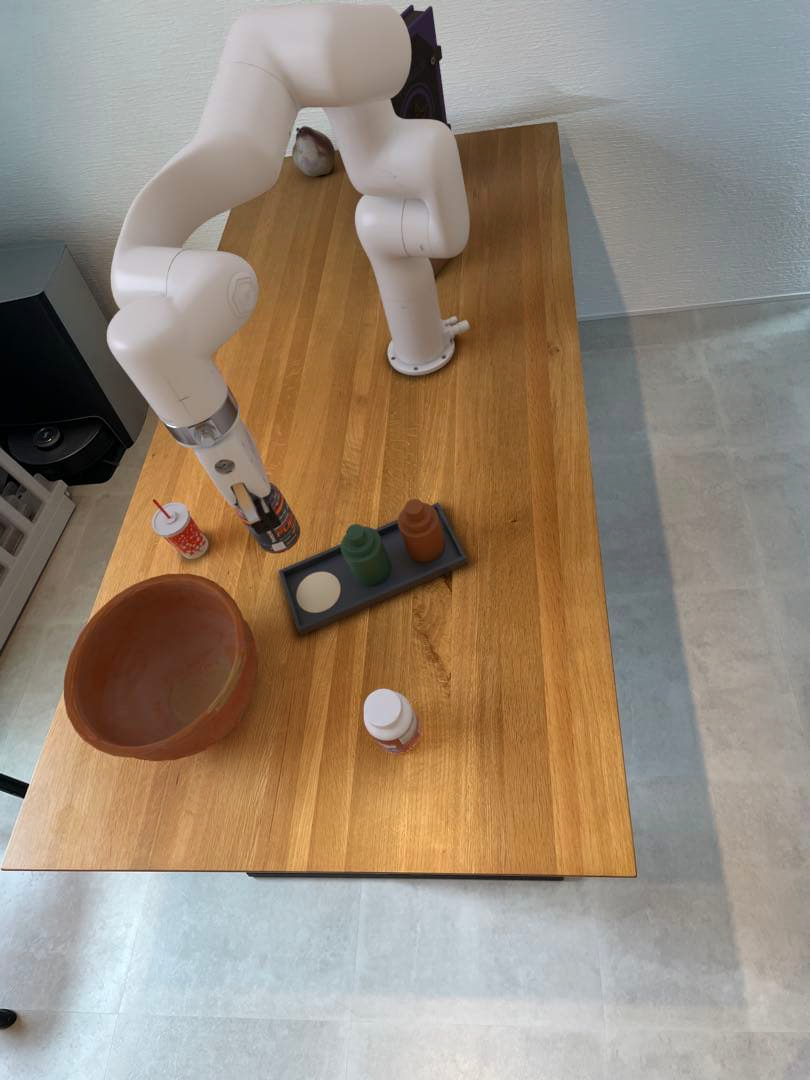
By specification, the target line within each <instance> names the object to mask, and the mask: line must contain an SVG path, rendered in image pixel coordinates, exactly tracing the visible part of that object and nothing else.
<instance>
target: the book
mask: <svg viewBox="0 0 810 1080" xmlns="http://www.w3.org/2000/svg"><path fill="white" fill-rule="evenodd" d="M399 14H400V16H401V17H402V19H403V20H404V23H405V25H406V27H407V30H408V33H409V37H410V42H411V65H410V70H409V74H408V77H407V80H406V82H405V84H404V86H403V88H402V89H401V90H400V91H399V93H398V94H396V95H395V96H394V97H392V98H390V100H391V103H392V106H393V110H394V112H395V114H396V115H397V116H398V117H400V118H402V119H431V120H437V121H440V122H442V123H444V124H445V125H447V126H448V127H449V129H450V130H451V132H452V133H453V131H452V124H451V123H448V120H447V119H448V118H447V110H446V103H445V95H444V87H443V79H442V72H441V63H440V61H441V60H442V59H443V50H442V45H441V44H438V41H437V31H436V24H435V17H434V10H433V6H431V5H429V6H427V8H426V9H424V10H416V9H415V6H414V4H410V5H409V6H408V7H406V9H404V11H402V12H401V13H399Z"/></svg>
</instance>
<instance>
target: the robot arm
mask: <svg viewBox="0 0 810 1080" xmlns="http://www.w3.org/2000/svg"><path fill="white" fill-rule="evenodd" d="M400 14H401V13H399V12H398V11H397V10H396V9H395V8H394V7H392V6H390V5H389V4H356V3H355V4H353V3H340V2H316V3H315V2H314V3H303V4H286V5H271V6H262V7H257V8H253V9H250V10H248V11H245V12H244V13H242V14H240V15H239V16H238V17H237V18H236V19H235V21H234V22H233V24H232V26H231V28H230V29H229V32H228V34H227V37H226V41H225V44H224V46H223V50H222V53H221V55H220V59H219V62H218V65H217V68H216V72H215V75H214V77H213V80H212V84H211V88H210V91H209V93H208V96H207V100H206V102H205V105H204V109H203V112H202V115H201V118H200V122H199V125H198V128H197V131H196V133H195V135H194V137H193V138H192V139H191V140H190V141H189V142H188V143H187V144H186V145H185V146H184V147H183V148H181V149H180V150H179V151H178V152H176V153H175V154H174V155H173V156H172V157H171V158H170V159H169V160H168V161H167V162H166V163H165V164H163V166H162V167H161V168H160V169H159V170H158V171H157V172H156V173H155V174H154V175H153V176H152V177H151V178H150V180H148V181H147V183H145V185H144V186H143V187H142V188H141V190H140V191H138V193H137V195H136V196H135V197H134V199H133V201H132V203H131V204H130V207H129V208H128V211H127V213H126V215H125V218H124V221H123V224H122V226H121V230H120V233H119V235H118V238H117V242H116V245H115V249H114V251H113V257H112V262H111V268H110V287H111V288H110V289H111V293H112V297H113V300H114V302H115V304H116V306H117V307H118V309H119V310H117V312H116V313H115V315H114V316H113V317H112V318H111V320H110V321H109V324H108V326H107V330H106V342H107V346H108V348H109V350H110V352H111V353H112V355H113V357H114V358H115V360H116V361H117V362H118V364H119V365H120V366H121V368H122V369H123V370H124V372H125V373H126V375H127V376H128V378H129V379H130V380H131V381H132V383H133V384H134V385H135V387H136V388H137V390H138V391H139V392H140V394H141V395H142V396H143V398H144V399H145V401H146V402H147V403H148V405H149V406H150V408H151V409H152V410H153V411H154V412H155V414H156V416H157V417H158V418H159V420H160V422H162V424H163V425H164V426H165V428H166V429H167V431H169V434H170V435H171V436H172V438H173V439H174V440H175V441H176V443H178V445H180V446H182V447H184V448H186V449H192V451H193V452H194V454H195V456H196V457H197V459H198V461H199V463H200V465H201V466H202V467H203V469H204V471H205V472H206V473H207V475H208V477H209V478H210V480H211V482H213V484H214V486H215V487H216V489H217V490H218V492H219V493H220V494H221V496H222V497H223V499H224V500H225V501H226V502H227V504H228V505H229V506H231V507H232V508H235V509H236V508H238V505H239V506H240V508H241V510H242V512H243V513H244V515H245V517H246V519H247V520H248V522H249V523H250V525H251V526H252V527H253V529H254V530H255V532H256V533H257V534H262V533H264V532H268V531H270V530H272V529H274V528H276V527H279V526H280V525H281V521H280V519H279V518H278V516H277V514H276V513H275V511H274V510H273V508H272V506H271V505H270V504H267V503H266V501H265V499H264V498H263V497H265V496H267V495H269V493H270V490H271V488H270V484H269V482H270V481H269V478H268V474H267V471H266V468H265V465H264V462H263V459H262V456H261V452H260V450H259V448H258V445H257V443H256V440H255V438H254V436H253V434H252V433H251V432H250V429H248V427H247V425H246V424H245V422H244V421H243V419H242V418H241V407H240V405H239V403H238V400H237V399H236V397H235V396H234V393H233V392H232V390H231V389H230V387H229V385H228V383H227V382H226V380H225V379H224V376H223V374H222V373H221V371H220V369H219V368H218V366H217V365H216V362H215V360H214V359H213V357H214V355H215V353H216V352H218V350H220V349H221V348H222V347H223V346H224V345H225V344H226V343H228V341H230V340H231V339H232V338H233V337H234V336H235V335H236V334H237V333H238V332H239V331H240V330H241V329H243V327H244V326H245V325H246V324H247V322H248V321H249V320H250V318H251V317H252V315H253V313H254V312H255V309H256V307H257V303H258V299H259V291H260V290H259V282H258V281H259V280H258V278H257V274H256V272H255V270H254V269H253V267H252V266H251V265H250V263H249V262H248V261H247V260H246V259H244V258H243V257H241V256H240V255H236V254H235V253H231V252H229V251H221V250H210V249H208V250H207V249H193V248H190V247H189V248H188V247H187V248H186V247H183V246H184V245H185V243H186V242H187V240H188V239H189V238H190V237H191V236H192V234H194V232H196V230H198V229H199V228H200V227H201V226H202V225H204V224H205V223H206V222H208V221H210V220H211V219H213V218H215V217H217V216H219V215H221V214H223V213H226V212H228V211H230V210H232V209H234V208H237V207H239V206H241V205H244V204H246V203H248V202H250V201H252V200H254V199H255V198H258V197H259V196H261V195H263V194H264V193H267V192H268V191H269V190H271V188H273V187H274V186H275V185H276V183H277V181H278V180H279V177H280V174H281V171H282V167H283V164H284V160H285V157H286V154H287V149H288V146H289V143H290V140H291V136H292V132H293V129H294V126H295V123H296V120H297V117H298V115H299V112H300V111H301V110H303V109H307V108H308V109H309V108H322V110H323V112H324V113H325V115H326V117H327V120H328V123H329V125H330V128H331V131H332V134H333V137H334V140H335V143H336V145H337V149H338V151H339V154H340V157H341V160H342V163H343V166H344V169H345V171H346V174H347V176H348V179H349V181H350V183H351V185H352V187H353V188H354V189H355V190H356V191H357V192H358V193H359V194H362V196H361V197H360V199H359V200H358V202H357V205H356V208H355V213H354V225H355V231H356V234H357V237H358V240H359V242H360V244H361V246H362V248H363V250H364V252H365V254H366V256H367V258H368V260H369V262H370V265H371V267H372V270H373V273H374V276H375V281H376V283H377V287H378V292H379V294H380V300H381V302H382V306H383V311H384V315H385V318H386V321H387V325H388V329H389V333H390V336H391V337H390V338H391V340H390V342H389V345H388V347H387V358H388V361H389V363H390V365H391V366H392V368H393V369H394V370H396V371H397V372H399V373H400V374H404V375H407V376H424V375H428V374H431V373H434V372H436V371H439V370H440V369H442V368H443V367H445V366H446V365H447V364H448V363H449V362H450V360H451V359H452V358H453V355H454V353H455V350H456V349H455V348H456V346H455V345H456V344H455V340H454V339H455V336H456V335H459V334H463V333H465V332H468V331H470V329H471V328H470V327H471V326H470V323H469V322H468V320H467V319H464V320H462V321H458V318H457V315H454V316H451V317H449V318H447V319H445V320H444V319H442V314H441V309H440V308H441V307H440V302H439V297H438V291H437V286H436V279H435V276H434V273H433V268H432V265H431V262H430V260H429V258H449V259H451V258H454V257H457V256H458V255H460V254H461V253H462V252H463V251H464V250H465V248H466V246H467V244H468V241H469V237H470V227H471V226H470V225H471V224H470V223H471V222H470V211H469V204H468V198H467V192H466V186H465V180H464V175H463V169H462V162H461V158H460V152H459V147H458V143H457V140H456V137H455V135H454V133H453V131H452V129H451V130H450V129H449V127H448V126H447V125H445V124H444V123H442V122H440V121H437V120H431V119H402V118H400V117H398V116H397V115H396V114H395V112H394V110H393V106H392V103H391V100H390V98H392V97H394V96H395V95H396V94H398V93H399V91H400V90H401V89H402V88H403V86H404V84H405V82H406V80H407V77H408V74H409V70H410V65H411V42H410V37H409V33H408V30H407V27H406V25H405V23H404V20H403V19H402V17H401V16H400ZM451 131H452V132H451ZM247 489H248V490H249V491H248V490H247ZM254 498H257V499H258V501H259V503H260V505H258V506H255V505H254V503H253V501H252V499H254Z"/></svg>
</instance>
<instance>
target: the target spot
mask: <svg viewBox="0 0 810 1080" xmlns="http://www.w3.org/2000/svg"><path fill="white" fill-rule="evenodd" d="M340 591H341V587H340V583H339V581H338V579H337V578H336V577H335V576H334V575H332V574H331V573H328V572H316V573H313V574H311V575H309V576H307V577H306V578H305V579H304V580H303V581H302V582H301V583H300V585H299V587H298V589H297V595H296V597H297V601H298V604H299V605H300V607H301V608H302V609H304V610H305V611H307V612H311V613H320V612H323V611H326V610H328V609H329V608H331V607H332V606H333V605H334V604H335V603H336V602H337V600H338V598H339V596H340Z"/></svg>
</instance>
